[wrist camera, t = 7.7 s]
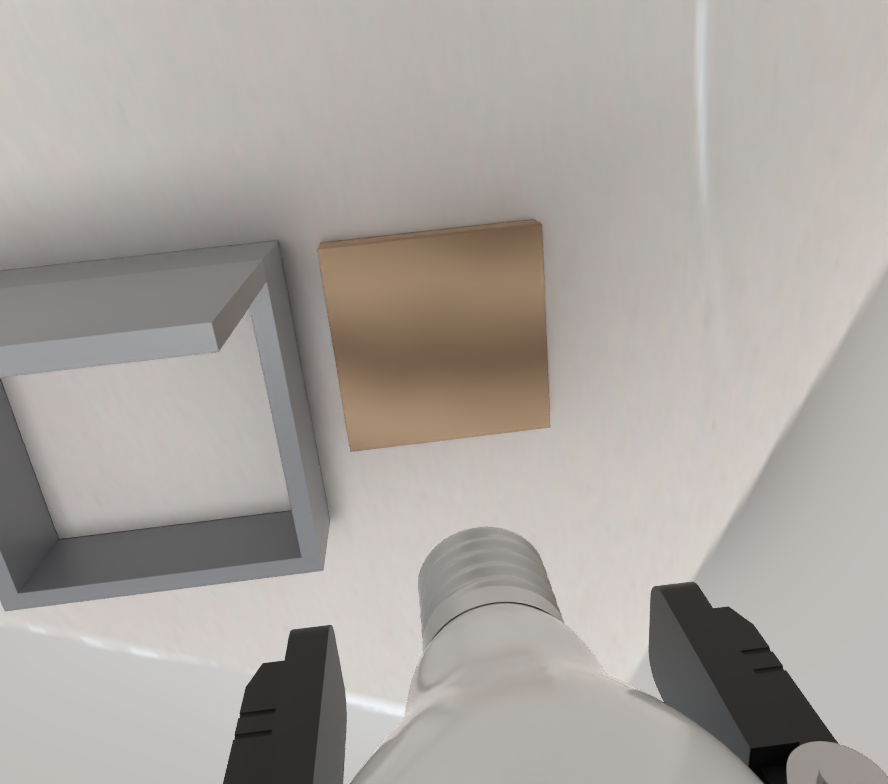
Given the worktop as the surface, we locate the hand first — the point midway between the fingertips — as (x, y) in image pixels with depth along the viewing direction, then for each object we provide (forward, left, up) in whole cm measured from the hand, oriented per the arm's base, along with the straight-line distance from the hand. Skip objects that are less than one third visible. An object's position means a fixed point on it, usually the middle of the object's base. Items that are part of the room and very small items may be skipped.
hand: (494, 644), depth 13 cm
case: (+2, -13, -19) cm, 23 cm away
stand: (0, 0, -19) cm, 19 cm away
